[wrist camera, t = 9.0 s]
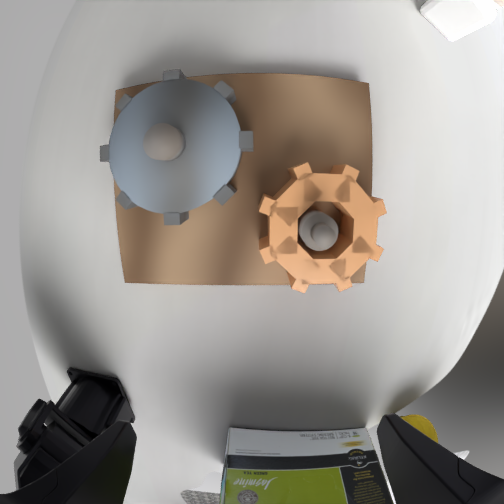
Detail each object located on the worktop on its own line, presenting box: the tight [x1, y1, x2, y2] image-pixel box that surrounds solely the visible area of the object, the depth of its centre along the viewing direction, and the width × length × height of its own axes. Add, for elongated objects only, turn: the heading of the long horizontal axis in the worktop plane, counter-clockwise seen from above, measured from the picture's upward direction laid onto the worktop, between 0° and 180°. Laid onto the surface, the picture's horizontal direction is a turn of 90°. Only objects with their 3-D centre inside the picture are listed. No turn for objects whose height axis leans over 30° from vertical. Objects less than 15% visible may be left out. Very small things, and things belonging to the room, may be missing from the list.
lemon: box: [400, 415, 438, 443], centre depth 19 cm, size 6×6×8 cm
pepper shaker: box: [420, 0, 504, 41], centre depth 7 cm, size 4×4×10 cm
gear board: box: [100, 69, 372, 285], centre depth 14 cm, size 16×13×5 cm
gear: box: [258, 162, 387, 293], centre depth 15 cm, size 7×7×2 cm
